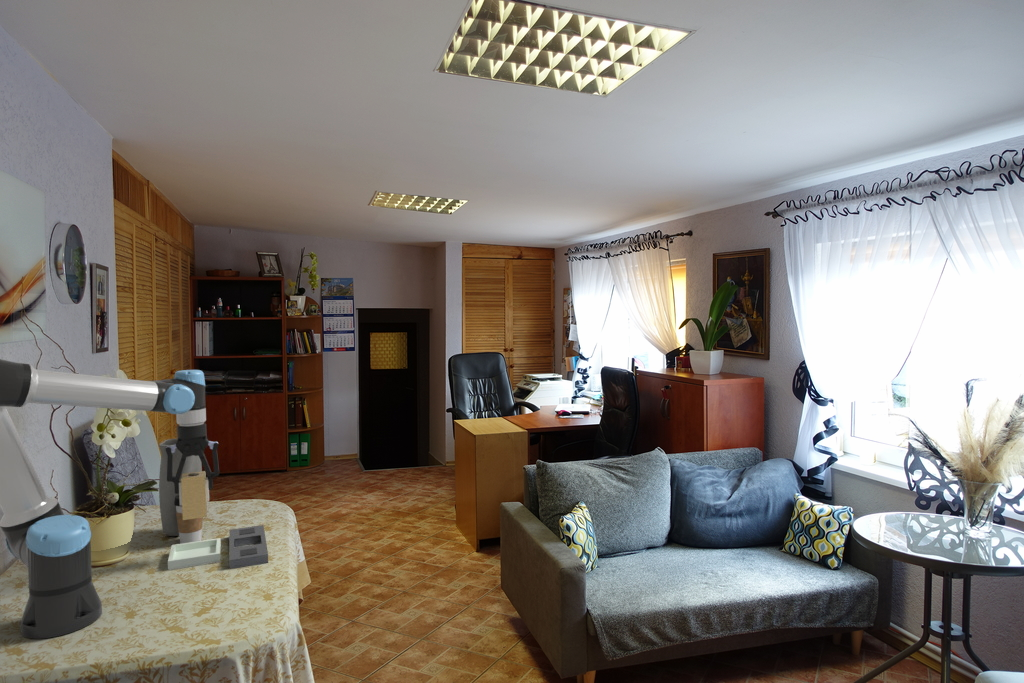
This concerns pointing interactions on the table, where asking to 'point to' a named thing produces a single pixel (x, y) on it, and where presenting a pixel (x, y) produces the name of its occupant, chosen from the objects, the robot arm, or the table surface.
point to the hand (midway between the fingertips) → (194, 502)
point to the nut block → (193, 495)
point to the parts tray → (194, 553)
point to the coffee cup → (187, 525)
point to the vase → (172, 485)
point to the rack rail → (247, 547)
